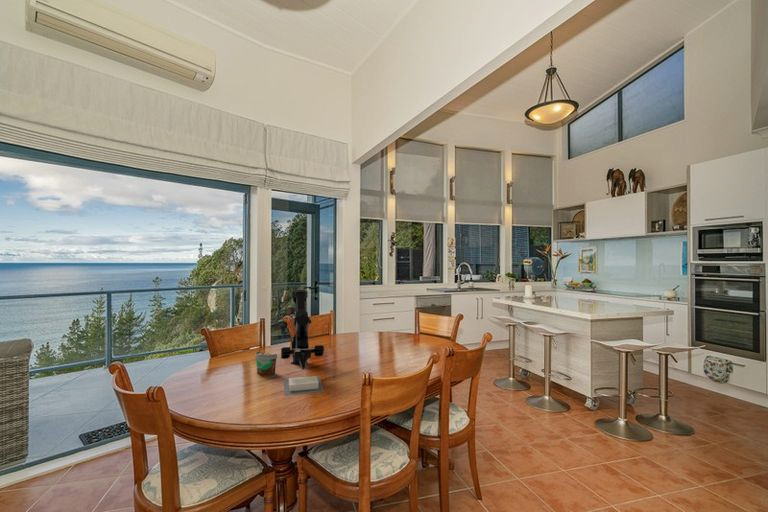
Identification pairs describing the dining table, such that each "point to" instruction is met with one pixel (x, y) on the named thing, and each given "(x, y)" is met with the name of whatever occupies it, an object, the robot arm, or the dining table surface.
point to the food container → (265, 363)
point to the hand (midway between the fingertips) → (303, 368)
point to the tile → (303, 383)
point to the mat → (287, 392)
